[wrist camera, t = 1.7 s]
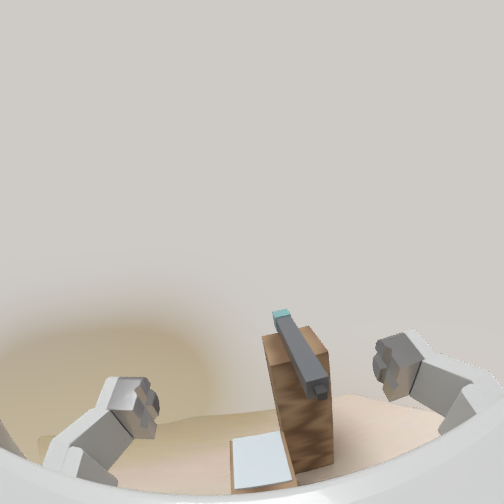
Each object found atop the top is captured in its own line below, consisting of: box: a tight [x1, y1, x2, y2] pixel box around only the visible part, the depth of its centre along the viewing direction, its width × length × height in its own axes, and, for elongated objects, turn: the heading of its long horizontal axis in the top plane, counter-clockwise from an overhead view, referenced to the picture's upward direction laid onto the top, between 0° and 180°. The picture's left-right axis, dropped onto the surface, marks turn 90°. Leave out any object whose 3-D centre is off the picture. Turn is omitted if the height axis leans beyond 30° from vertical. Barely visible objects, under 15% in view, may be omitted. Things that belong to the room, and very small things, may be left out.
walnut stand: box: [230, 326, 334, 494], centre depth 33 cm, size 16×26×26 cm, turn 4°
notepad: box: [232, 431, 292, 490], centre depth 29 cm, size 7×10×1 cm
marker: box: [272, 309, 330, 402], centre depth 36 cm, size 3×24×3 cm, turn 4°
